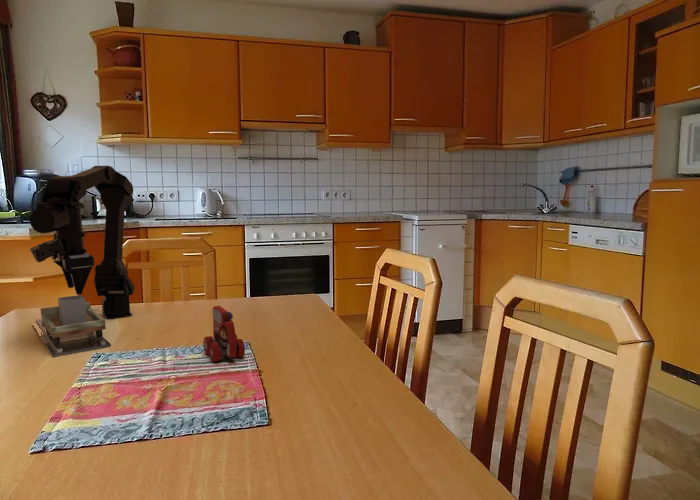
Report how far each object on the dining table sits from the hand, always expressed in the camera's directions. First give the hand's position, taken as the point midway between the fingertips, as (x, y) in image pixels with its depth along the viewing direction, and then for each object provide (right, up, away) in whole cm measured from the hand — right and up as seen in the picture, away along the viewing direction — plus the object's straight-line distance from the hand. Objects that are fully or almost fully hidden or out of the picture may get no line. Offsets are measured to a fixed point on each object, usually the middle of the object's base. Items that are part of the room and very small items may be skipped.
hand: (74, 290), depth 131 cm
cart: (+2, -11, -4) cm, 11 cm away
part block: (+2, -7, -5) cm, 9 cm away
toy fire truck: (+41, -13, -15) cm, 45 cm away
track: (-3, -11, +2) cm, 12 cm away
